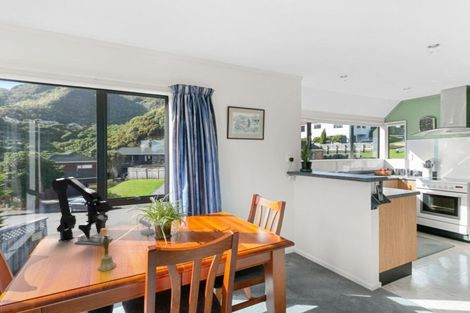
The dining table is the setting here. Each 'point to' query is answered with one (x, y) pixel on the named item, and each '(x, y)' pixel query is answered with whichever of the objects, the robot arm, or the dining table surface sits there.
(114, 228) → the dining table surface
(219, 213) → the dining table surface
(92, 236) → the frame
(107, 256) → the hand bell
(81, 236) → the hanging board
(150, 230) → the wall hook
